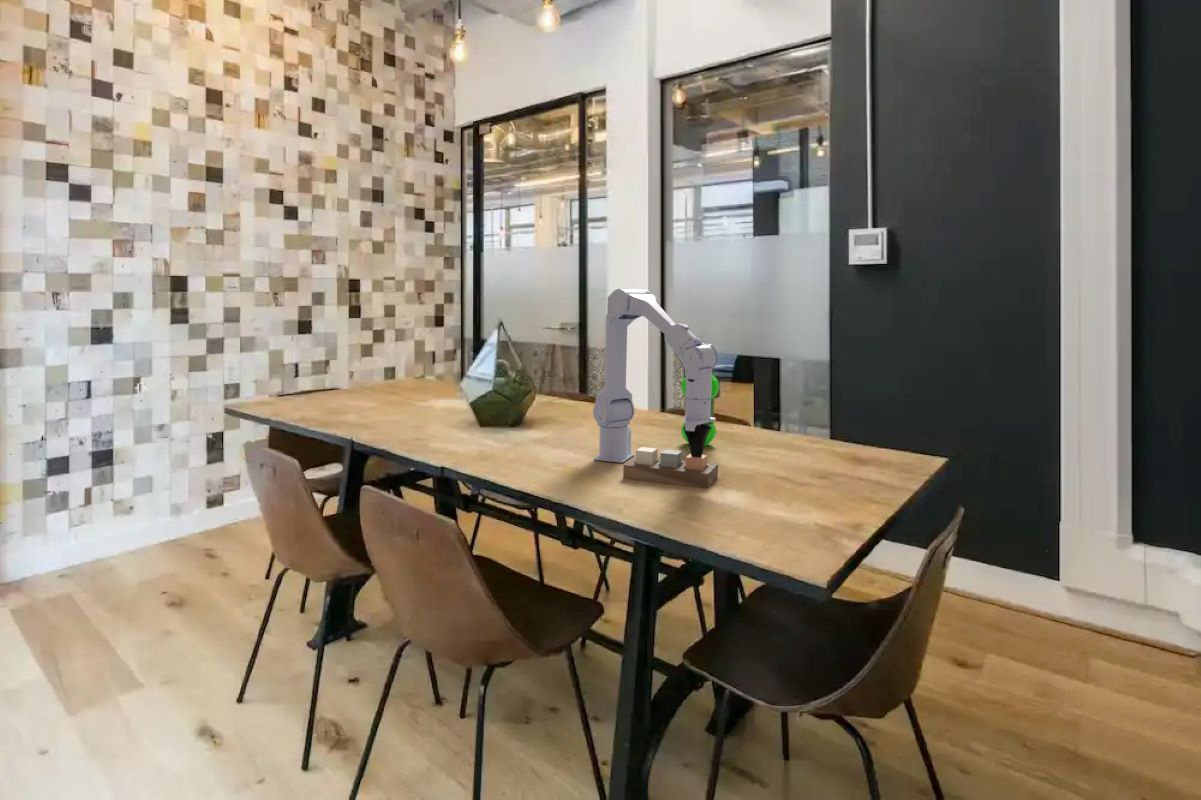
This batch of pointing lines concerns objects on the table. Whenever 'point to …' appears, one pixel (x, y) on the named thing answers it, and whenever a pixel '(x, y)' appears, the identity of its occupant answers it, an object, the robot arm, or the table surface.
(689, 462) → the key terracotta
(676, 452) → the key slate
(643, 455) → the key ivory
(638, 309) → the robot arm
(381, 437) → the table surface
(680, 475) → the frame
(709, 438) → the plastic bottle
